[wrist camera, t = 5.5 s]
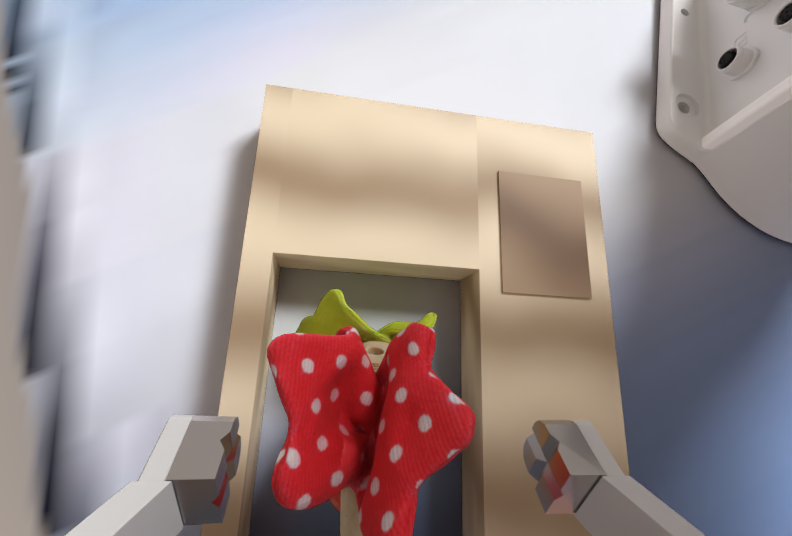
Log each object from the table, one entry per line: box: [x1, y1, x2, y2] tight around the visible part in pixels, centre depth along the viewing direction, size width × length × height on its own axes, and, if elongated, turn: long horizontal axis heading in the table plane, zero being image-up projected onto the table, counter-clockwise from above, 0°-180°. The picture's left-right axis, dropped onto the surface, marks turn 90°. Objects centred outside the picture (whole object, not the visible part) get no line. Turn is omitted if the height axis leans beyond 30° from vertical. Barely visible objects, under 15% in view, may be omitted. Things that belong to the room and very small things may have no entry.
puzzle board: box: [201, 85, 630, 536], centre depth 17 cm, size 21×17×3 cm
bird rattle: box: [267, 289, 476, 536], centre depth 12 cm, size 6×11×9 cm
